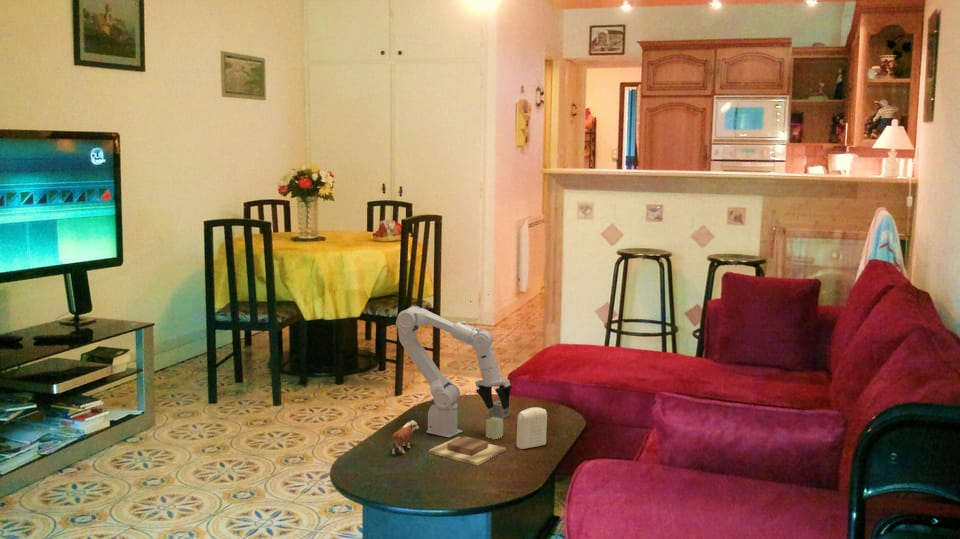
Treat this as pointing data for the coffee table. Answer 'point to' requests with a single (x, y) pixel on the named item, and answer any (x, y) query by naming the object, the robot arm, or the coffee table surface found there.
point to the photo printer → (531, 428)
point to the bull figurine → (404, 436)
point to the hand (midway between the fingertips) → (498, 408)
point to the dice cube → (499, 410)
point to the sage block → (494, 428)
